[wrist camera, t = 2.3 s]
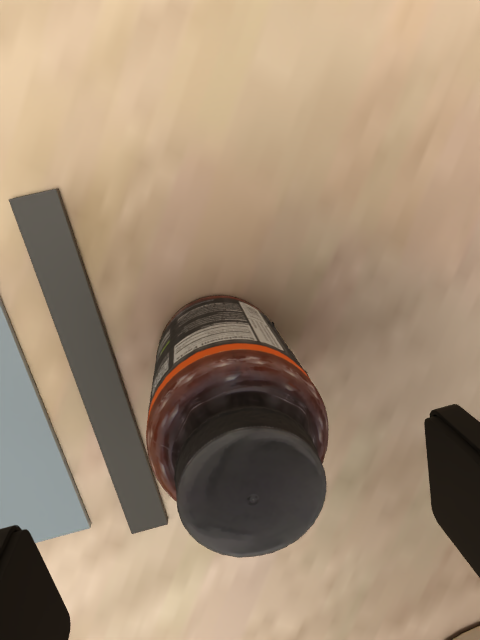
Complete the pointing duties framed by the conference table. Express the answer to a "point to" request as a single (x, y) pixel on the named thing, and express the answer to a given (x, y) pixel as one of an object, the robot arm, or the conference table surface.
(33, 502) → the pad
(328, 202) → the conference table surface
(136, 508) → the bar
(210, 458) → the supplement bottle
